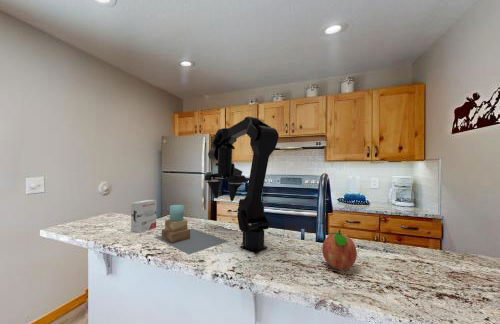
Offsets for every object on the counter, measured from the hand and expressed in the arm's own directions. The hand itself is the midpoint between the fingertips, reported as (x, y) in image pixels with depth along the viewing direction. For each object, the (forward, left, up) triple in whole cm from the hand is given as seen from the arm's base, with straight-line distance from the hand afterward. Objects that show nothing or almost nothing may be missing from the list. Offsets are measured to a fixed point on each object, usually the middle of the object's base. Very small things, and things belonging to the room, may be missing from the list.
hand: (223, 199), depth 88 cm
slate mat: (+1, +14, -13) cm, 19 cm away
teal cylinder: (+5, +18, -6) cm, 20 cm away
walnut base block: (+5, +18, -13) cm, 22 cm away
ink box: (+24, +21, -13) cm, 34 cm away
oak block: (+5, +18, -9) cm, 21 cm away
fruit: (-45, -1, -13) cm, 47 cm away
